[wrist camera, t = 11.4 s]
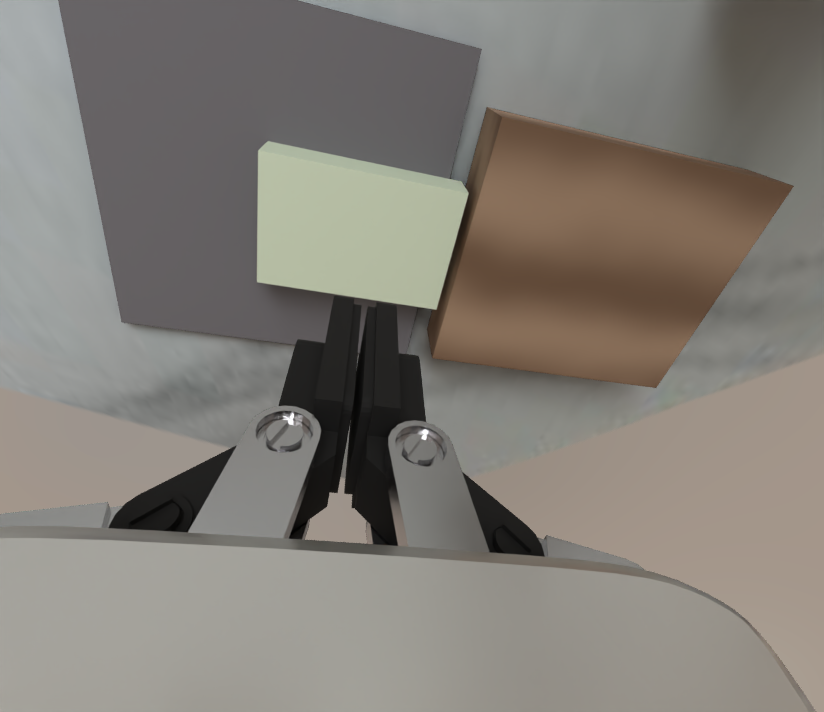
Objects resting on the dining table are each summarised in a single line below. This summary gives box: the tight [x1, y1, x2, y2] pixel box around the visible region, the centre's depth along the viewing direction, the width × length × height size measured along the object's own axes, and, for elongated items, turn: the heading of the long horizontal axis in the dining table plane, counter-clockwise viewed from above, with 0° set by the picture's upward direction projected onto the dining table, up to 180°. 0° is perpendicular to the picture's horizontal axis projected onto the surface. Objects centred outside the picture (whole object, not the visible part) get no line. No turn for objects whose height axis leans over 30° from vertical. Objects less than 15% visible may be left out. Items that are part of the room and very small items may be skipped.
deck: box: [427, 107, 794, 388], centre depth 23 cm, size 12×14×3 cm
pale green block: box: [257, 141, 469, 310], centre depth 21 cm, size 9×6×2 cm, turn 78°
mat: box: [58, 0, 482, 354], centre depth 21 cm, size 16×16×1 cm
